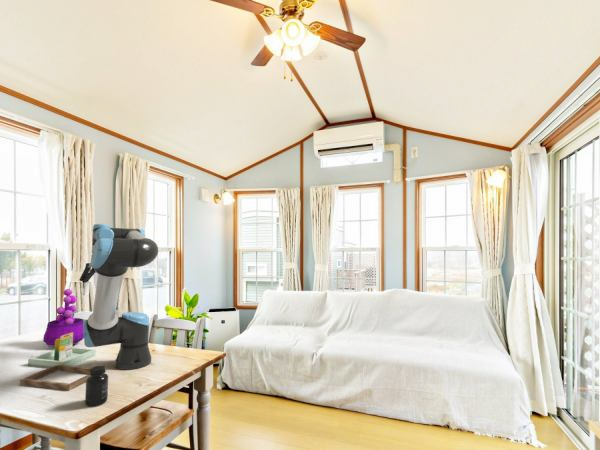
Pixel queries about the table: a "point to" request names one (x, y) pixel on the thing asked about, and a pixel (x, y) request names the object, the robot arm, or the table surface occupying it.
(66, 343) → the crayon box
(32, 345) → the table surface
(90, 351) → the sage tray
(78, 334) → the decorative plant
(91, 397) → the supplement bottle
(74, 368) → the walnut frame
